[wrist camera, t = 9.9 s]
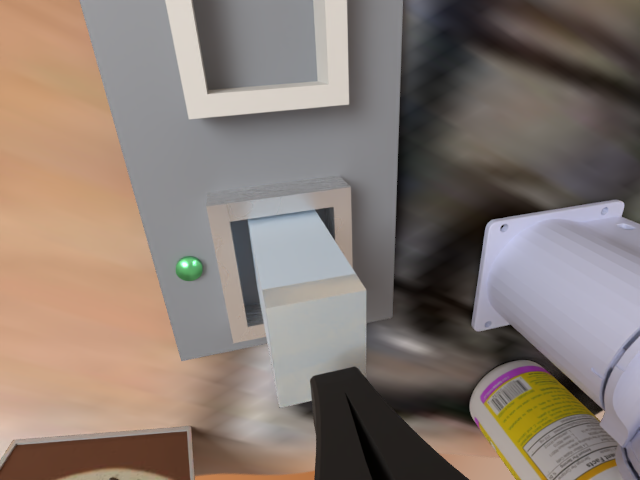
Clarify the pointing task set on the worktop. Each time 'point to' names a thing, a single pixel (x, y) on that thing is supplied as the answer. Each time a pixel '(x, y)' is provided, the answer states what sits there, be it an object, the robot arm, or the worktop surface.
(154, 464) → the food container
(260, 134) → the panel
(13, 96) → the worktop surface
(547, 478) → the supplement bottle
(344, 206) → the port
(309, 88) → the frame
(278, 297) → the plug
